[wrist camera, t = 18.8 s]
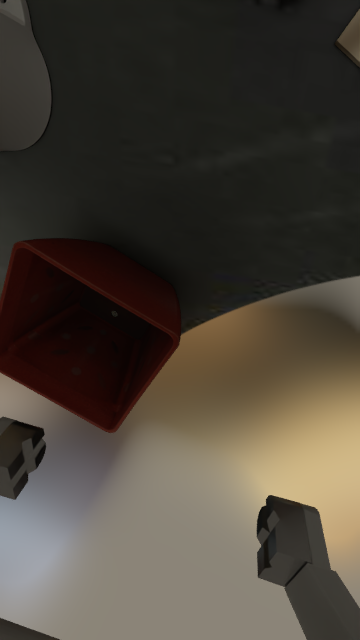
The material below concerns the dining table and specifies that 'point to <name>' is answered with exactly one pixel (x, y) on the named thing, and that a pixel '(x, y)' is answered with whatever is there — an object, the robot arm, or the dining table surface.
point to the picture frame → (351, 40)
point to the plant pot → (85, 326)
